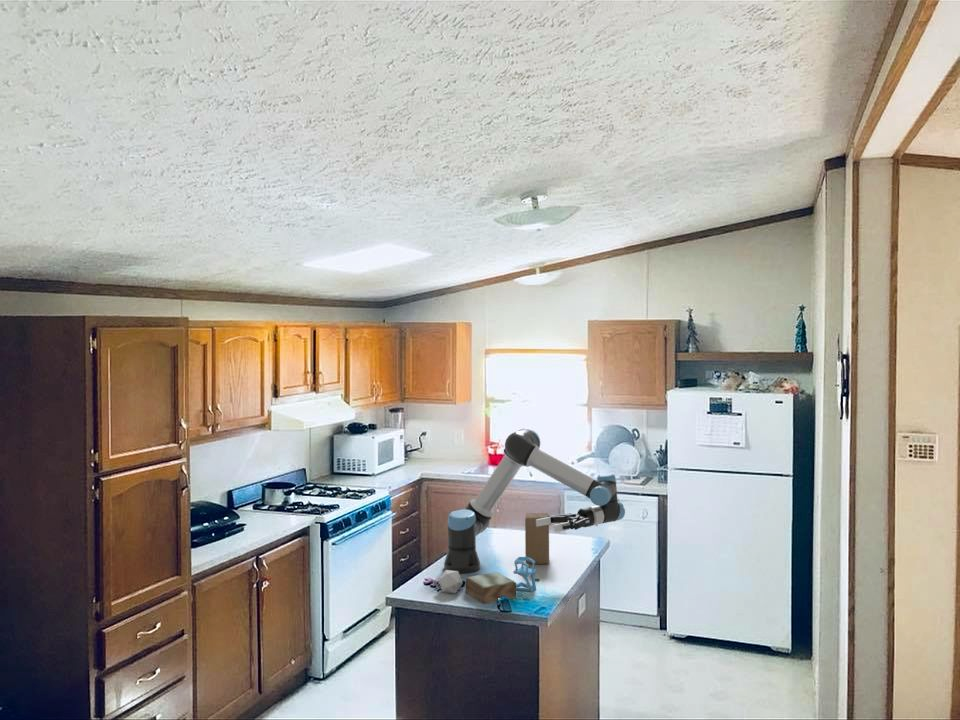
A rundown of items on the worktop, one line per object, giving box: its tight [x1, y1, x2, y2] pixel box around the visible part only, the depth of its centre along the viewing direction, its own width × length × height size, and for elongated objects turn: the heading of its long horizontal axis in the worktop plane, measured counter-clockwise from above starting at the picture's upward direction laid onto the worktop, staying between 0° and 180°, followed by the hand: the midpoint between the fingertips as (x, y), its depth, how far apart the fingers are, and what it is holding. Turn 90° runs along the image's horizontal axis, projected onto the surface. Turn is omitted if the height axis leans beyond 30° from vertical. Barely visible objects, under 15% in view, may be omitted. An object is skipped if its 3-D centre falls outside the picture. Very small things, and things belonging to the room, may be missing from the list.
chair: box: [512, 556, 537, 592], centre depth 294 cm, size 8×8×12 cm
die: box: [437, 569, 464, 594], centre depth 292 cm, size 8×9×10 cm
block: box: [524, 512, 550, 565], centre depth 330 cm, size 10×10×20 cm
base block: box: [465, 571, 517, 605], centre depth 287 cm, size 14×14×6 cm
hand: (545, 525), depth 300 cm, fingers open, 13 cm apart
